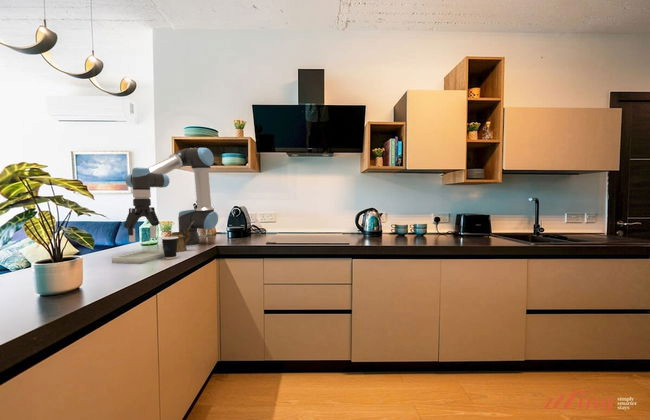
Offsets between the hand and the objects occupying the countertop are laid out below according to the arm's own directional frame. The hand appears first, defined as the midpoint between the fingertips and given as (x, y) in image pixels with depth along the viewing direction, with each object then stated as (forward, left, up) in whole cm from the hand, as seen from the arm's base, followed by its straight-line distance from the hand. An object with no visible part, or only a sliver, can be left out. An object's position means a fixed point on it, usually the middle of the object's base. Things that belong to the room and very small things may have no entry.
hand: (143, 239), depth 143 cm
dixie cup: (-3, +13, -10) cm, 16 cm away
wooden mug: (-23, +5, -10) cm, 26 cm away
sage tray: (0, 0, -10) cm, 10 cm away
